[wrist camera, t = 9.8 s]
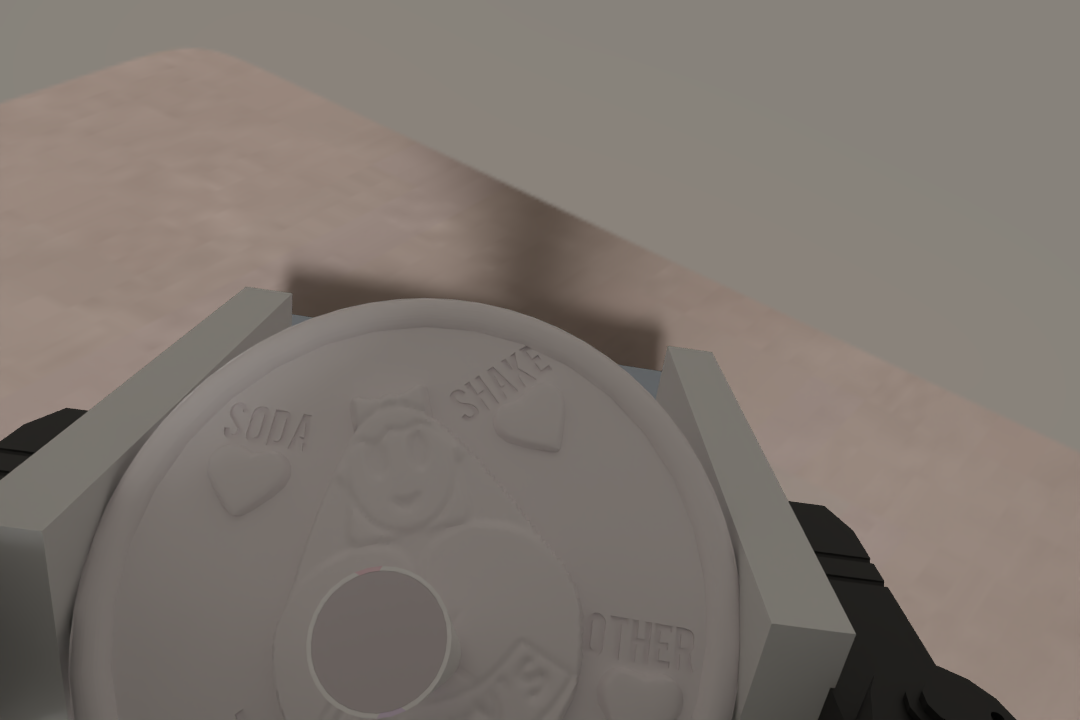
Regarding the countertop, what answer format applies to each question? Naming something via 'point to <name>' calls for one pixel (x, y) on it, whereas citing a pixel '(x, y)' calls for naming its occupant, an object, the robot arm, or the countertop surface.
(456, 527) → the smoothie
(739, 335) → the countertop surface
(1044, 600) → the countertop surface
